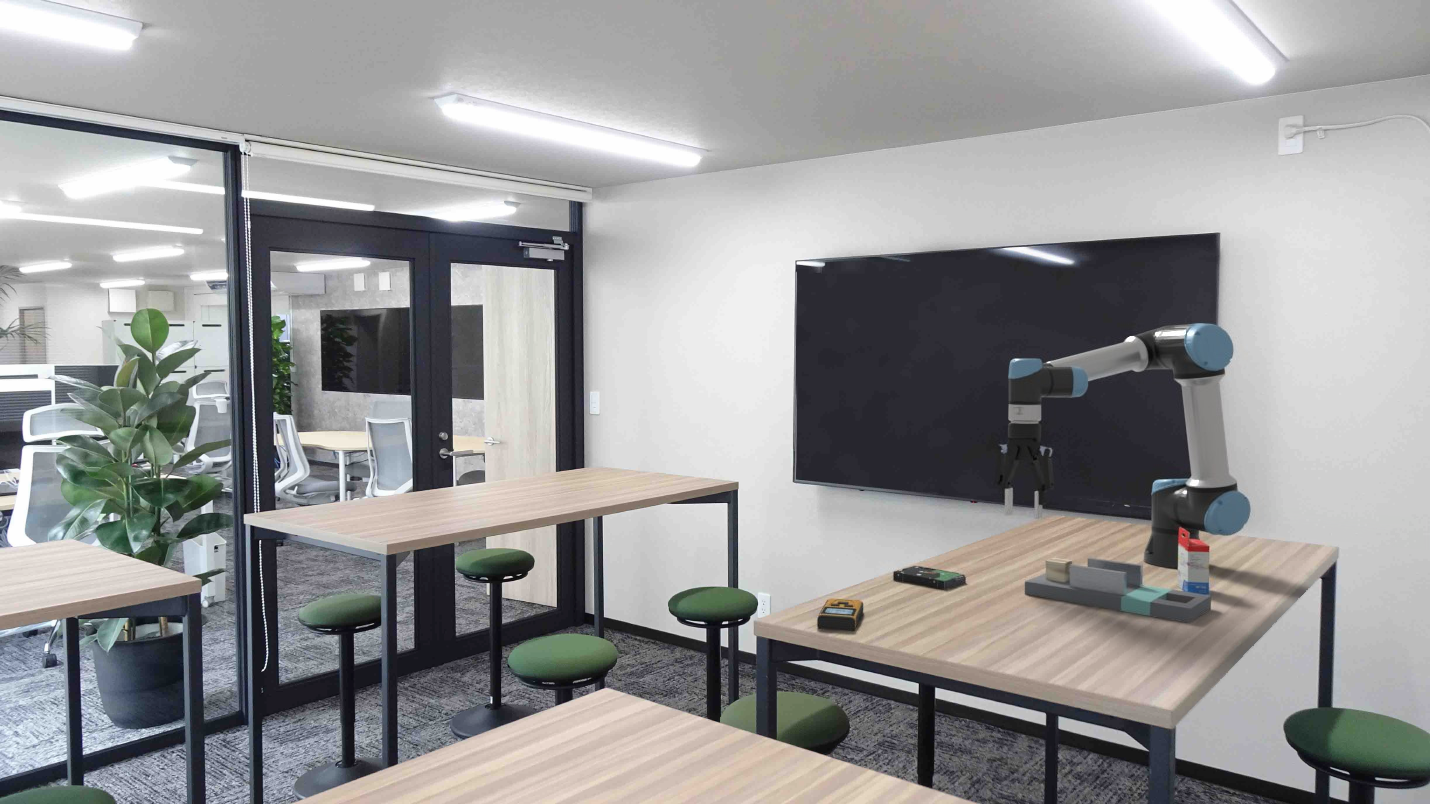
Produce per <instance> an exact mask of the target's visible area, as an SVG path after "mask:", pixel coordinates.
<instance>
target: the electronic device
mask: <svg viewBox="0 0 1430 804" xmlns="http://www.w3.org/2000/svg"><path fill="white" fill-rule="evenodd" d="M863 613H864V602H863V601H862V600H860V599H859V600H857V599H848V598H847V599H844V598H829V599H827V600H826V601H825V603H824V605H823V607H822V608H821V610H820V612H819V614H818V615H817V616H818V617H817V620H816V621H817V622H816V623H817V624H816V625H817V629H819V630H830V631H831V630H834V631H845V632H855V630H856V628H857V627H858V625H859V624H860V621H861V619H862V616H863Z"/></svg>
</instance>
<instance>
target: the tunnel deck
mask: <svg viewBox="0 0 1430 804" xmlns="http://www.w3.org/2000/svg"><path fill="white" fill-rule="evenodd" d="M1143 566H1144V565H1143V564H1140V563H1133V562H1131V563H1130V562H1126V561H1125V562H1124V561H1118V560H1109V559H1103V558H1096V557H1088V558H1087V566H1085V565H1080V564H1079V565H1078V564H1073V563H1072V565H1070V580H1069V581H1067V582H1059V581H1052V580H1046V572H1045V573H1042V574H1041V575H1037V576H1034V577H1032V578H1030V579H1027V580H1025V581H1024V595H1029V596H1035V597H1040V598H1046V599H1052V600H1056V601H1057V600H1058V601H1062V602H1068V603H1075V604H1081V605H1085V606H1091V607H1092V606H1093V607H1097V608H1104V609H1109V610H1115V611H1121V612H1124V613H1132V614H1136V615H1137V614H1138V615H1144V616H1150V617H1154V618H1161V619H1166V620H1171V621H1172V620H1173V621H1177V622H1183V623H1188V624H1192V622H1193V621H1195V620H1197V619H1198V618H1200V617H1201V616H1203V615H1204V614H1206V613H1207V612H1209V611H1211V609H1212V595H1210V594H1209V595H1204V594H1198V593H1191V592H1185V591H1183V590H1176V589H1170V588H1164V587H1158V586H1151V585H1145V584H1143V577H1144V576H1143V573H1144V571H1143V569H1144V568H1143Z"/></svg>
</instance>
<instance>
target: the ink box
mask: <svg viewBox="0 0 1430 804" xmlns="http://www.w3.org/2000/svg"><path fill="white" fill-rule="evenodd" d="M1183 534H1185V537H1184V536H1183ZM1189 538H1190V533H1189V532H1188V531H1186V530H1185V529H1183V528H1181V527H1180V528H1179V539H1178V568H1177V587H1178V588H1180V589H1181V591H1185V592H1191V593H1198V594H1204V595H1210V545H1209V544H1207V543H1205V542H1204V541H1202V540H1201V539H1200V540H1197V539H1189Z"/></svg>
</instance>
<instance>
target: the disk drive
mask: <svg viewBox="0 0 1430 804" xmlns="http://www.w3.org/2000/svg"><path fill="white" fill-rule="evenodd" d="M892 575H893V576H892V577H893V579H892V580H893V581H897V582H900V583H901V582H902V583H907V584H912V585H917V586H922V587H929V588H933V589H939V590H949V589H952V588H954V587H958V586H961V585H963V584H966V583H967V582H966V578H967V577H966V575H965V574H963V573H958V572H955V571H948V570H942V569H936V568H932V567H931V568H930V567H926V566H921V565H912V566H909V567H905V568H902V570H899V569H898V570H894V571H892Z"/></svg>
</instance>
